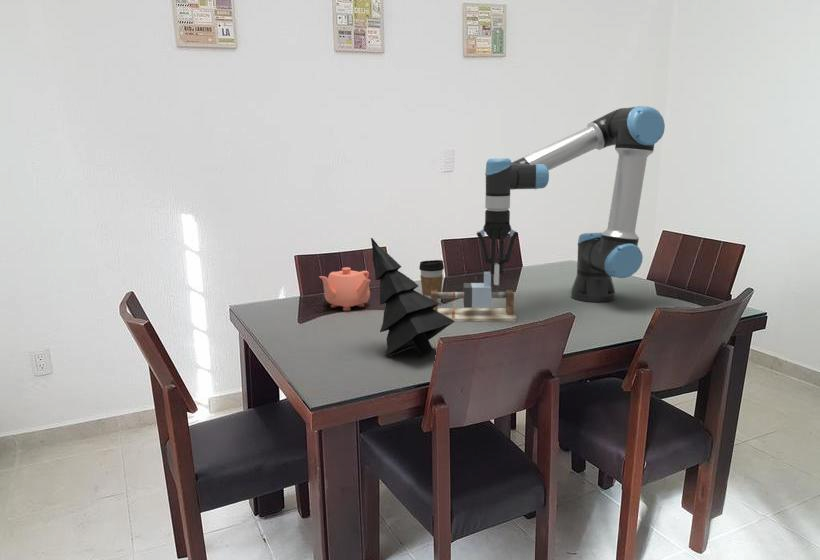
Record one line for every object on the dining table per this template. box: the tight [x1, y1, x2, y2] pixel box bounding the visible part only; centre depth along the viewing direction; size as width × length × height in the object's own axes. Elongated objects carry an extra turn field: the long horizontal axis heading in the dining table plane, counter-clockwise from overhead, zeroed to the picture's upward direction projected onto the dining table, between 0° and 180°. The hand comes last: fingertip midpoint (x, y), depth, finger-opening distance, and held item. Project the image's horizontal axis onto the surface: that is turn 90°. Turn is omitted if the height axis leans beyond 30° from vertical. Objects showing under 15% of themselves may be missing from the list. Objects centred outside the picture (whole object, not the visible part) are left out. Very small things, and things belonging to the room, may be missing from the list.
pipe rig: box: [431, 289, 518, 323], centre depth 199 cm, size 27×12×8 cm, turn 87°
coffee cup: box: [418, 259, 445, 306], centre depth 215 cm, size 8×8×15 cm
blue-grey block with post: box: [470, 271, 492, 308], centre depth 198 cm, size 6×6×10 cm
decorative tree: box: [370, 237, 455, 357], centre depth 167 cm, size 15×15×35 cm
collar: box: [463, 282, 473, 308], centre depth 199 cm, size 2×6×6 cm, turn 178°
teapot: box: [319, 266, 371, 312], centre depth 213 cm, size 16×17×14 cm
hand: (496, 284), depth 197 cm, fingers closed
